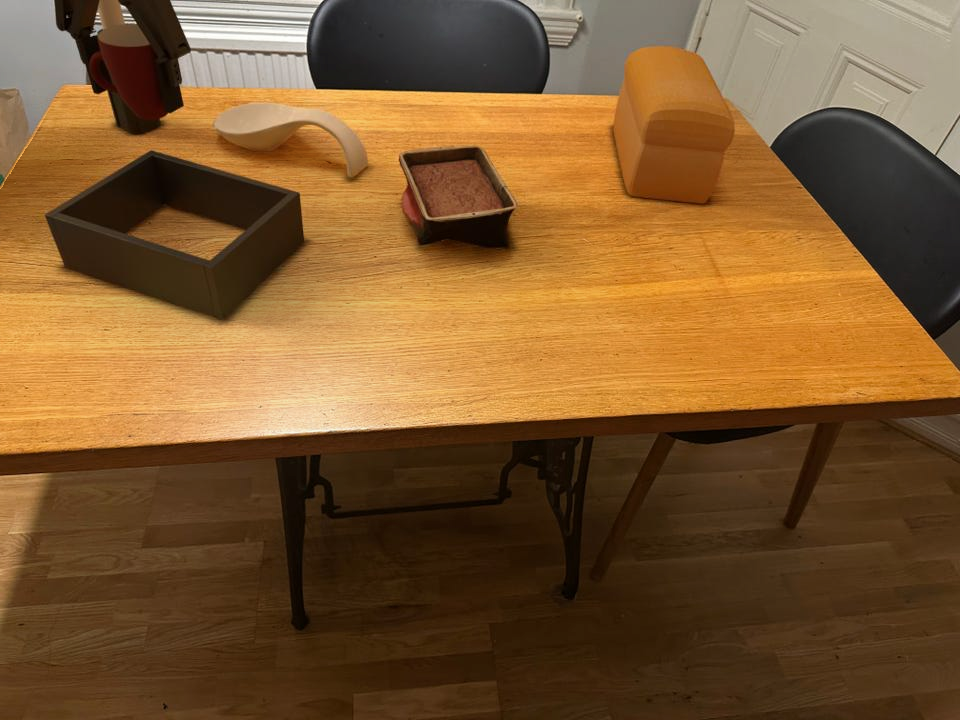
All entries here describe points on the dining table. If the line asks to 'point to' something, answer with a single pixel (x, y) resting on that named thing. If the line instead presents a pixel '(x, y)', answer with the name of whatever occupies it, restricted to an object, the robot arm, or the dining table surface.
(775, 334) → the dining table surface
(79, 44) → the robot arm
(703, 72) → the bread
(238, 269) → the dark rectangular frame
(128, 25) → the mug
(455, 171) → the baking dish
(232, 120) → the spoon rest
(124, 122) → the candle
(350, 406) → the dining table surface
